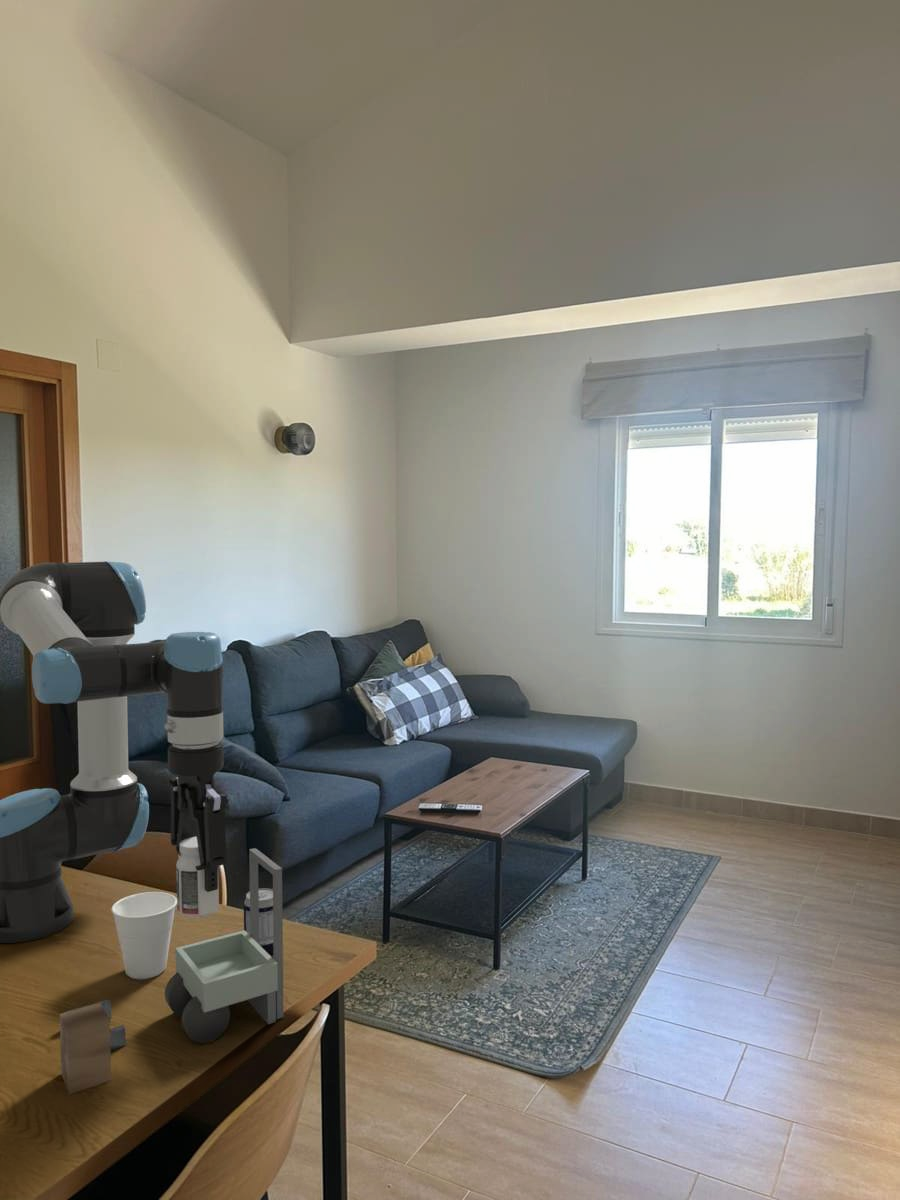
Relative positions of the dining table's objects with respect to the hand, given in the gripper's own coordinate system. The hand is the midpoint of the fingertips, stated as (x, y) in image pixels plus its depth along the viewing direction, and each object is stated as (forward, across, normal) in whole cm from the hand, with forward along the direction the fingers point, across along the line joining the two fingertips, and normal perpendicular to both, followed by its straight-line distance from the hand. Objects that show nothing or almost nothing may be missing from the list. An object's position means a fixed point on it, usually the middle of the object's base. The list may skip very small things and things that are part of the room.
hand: (198, 904), depth 124 cm
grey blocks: (+17, -6, -13) cm, 22 cm away
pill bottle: (+1, 0, 0) cm, 1 cm away
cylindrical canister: (+17, -9, +15) cm, 25 cm away
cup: (+17, -20, 0) cm, 26 cm away
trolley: (+17, +1, +4) cm, 18 cm away
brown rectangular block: (+17, +3, -17) cm, 24 cm away
